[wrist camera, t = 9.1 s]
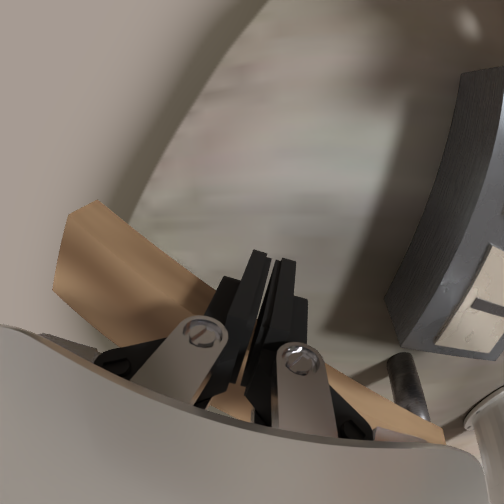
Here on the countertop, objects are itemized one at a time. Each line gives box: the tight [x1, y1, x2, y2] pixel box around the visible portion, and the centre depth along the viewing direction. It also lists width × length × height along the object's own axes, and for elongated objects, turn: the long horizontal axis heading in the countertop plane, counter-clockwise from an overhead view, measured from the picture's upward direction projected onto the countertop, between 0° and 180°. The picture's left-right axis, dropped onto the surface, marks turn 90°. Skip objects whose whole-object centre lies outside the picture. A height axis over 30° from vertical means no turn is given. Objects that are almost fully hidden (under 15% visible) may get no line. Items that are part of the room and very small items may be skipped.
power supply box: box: [384, 66, 504, 361], centre depth 14 cm, size 12×20×6 cm, turn 168°
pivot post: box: [387, 352, 431, 422], centre depth 21 cm, size 3×3×10 cm
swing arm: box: [52, 200, 446, 445], centre depth 13 cm, size 5×30×2 cm, turn 54°
